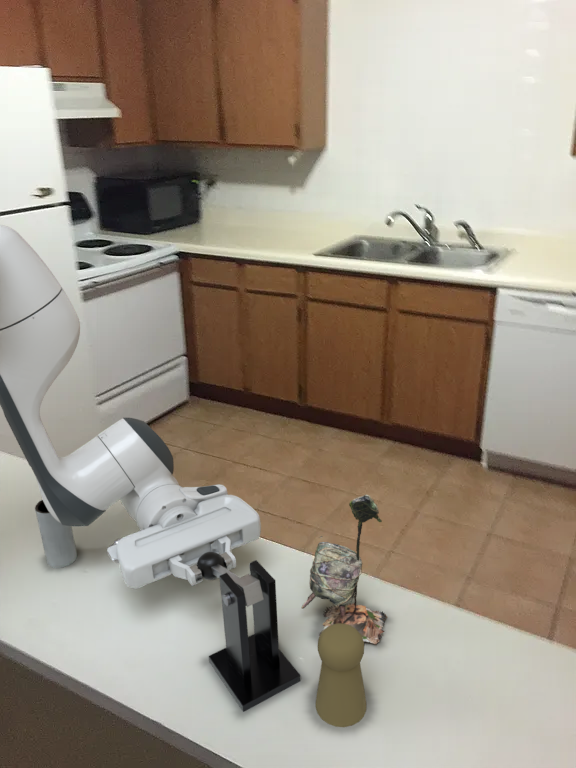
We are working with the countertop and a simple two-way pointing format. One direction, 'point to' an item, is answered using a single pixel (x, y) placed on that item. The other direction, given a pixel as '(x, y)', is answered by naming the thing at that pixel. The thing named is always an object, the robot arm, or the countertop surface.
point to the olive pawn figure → (341, 676)
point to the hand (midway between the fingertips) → (214, 572)
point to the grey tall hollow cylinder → (55, 538)
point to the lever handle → (214, 567)
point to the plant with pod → (345, 579)
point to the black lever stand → (252, 644)
